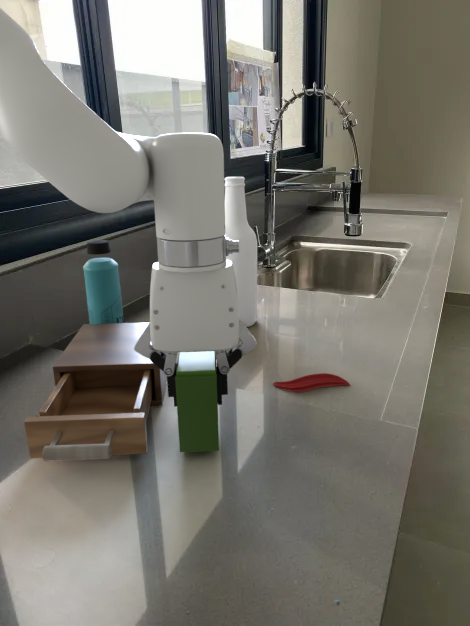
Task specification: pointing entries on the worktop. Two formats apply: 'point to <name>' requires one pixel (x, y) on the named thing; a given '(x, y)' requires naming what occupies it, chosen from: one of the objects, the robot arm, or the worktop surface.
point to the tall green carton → (197, 401)
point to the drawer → (93, 416)
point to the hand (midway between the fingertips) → (198, 399)
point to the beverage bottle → (102, 286)
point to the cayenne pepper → (311, 382)
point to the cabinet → (109, 353)
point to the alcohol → (242, 249)
